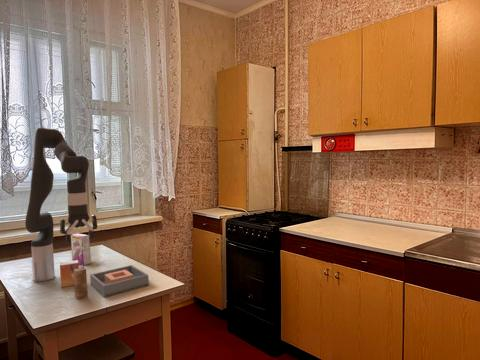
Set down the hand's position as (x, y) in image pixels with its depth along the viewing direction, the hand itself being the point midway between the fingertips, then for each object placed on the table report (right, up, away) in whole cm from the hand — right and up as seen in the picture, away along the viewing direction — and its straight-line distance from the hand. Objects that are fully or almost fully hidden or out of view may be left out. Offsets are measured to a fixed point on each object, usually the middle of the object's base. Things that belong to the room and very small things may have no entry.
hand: (80, 241), depth 146 cm
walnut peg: (0, -24, +1) cm, 24 cm away
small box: (-12, -24, +17) cm, 32 cm away
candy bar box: (-22, -22, +50) cm, 59 cm away
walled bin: (+12, -23, +13) cm, 29 cm away
